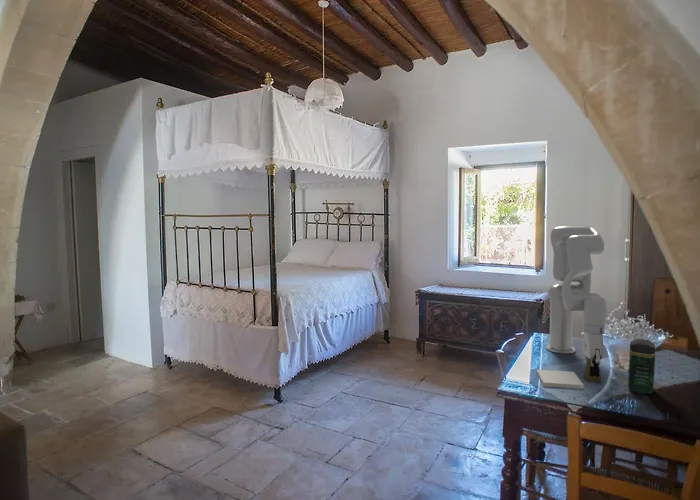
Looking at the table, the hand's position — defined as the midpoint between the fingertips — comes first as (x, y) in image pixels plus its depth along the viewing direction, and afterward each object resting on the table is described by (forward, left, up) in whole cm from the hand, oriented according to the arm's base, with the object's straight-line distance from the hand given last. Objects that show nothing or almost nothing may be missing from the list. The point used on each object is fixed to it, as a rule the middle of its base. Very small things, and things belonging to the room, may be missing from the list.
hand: (592, 373), depth 173 cm
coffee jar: (+8, +14, -3) cm, 16 cm away
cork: (0, 0, -3) cm, 3 cm away
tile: (+4, -13, -2) cm, 14 cm away
